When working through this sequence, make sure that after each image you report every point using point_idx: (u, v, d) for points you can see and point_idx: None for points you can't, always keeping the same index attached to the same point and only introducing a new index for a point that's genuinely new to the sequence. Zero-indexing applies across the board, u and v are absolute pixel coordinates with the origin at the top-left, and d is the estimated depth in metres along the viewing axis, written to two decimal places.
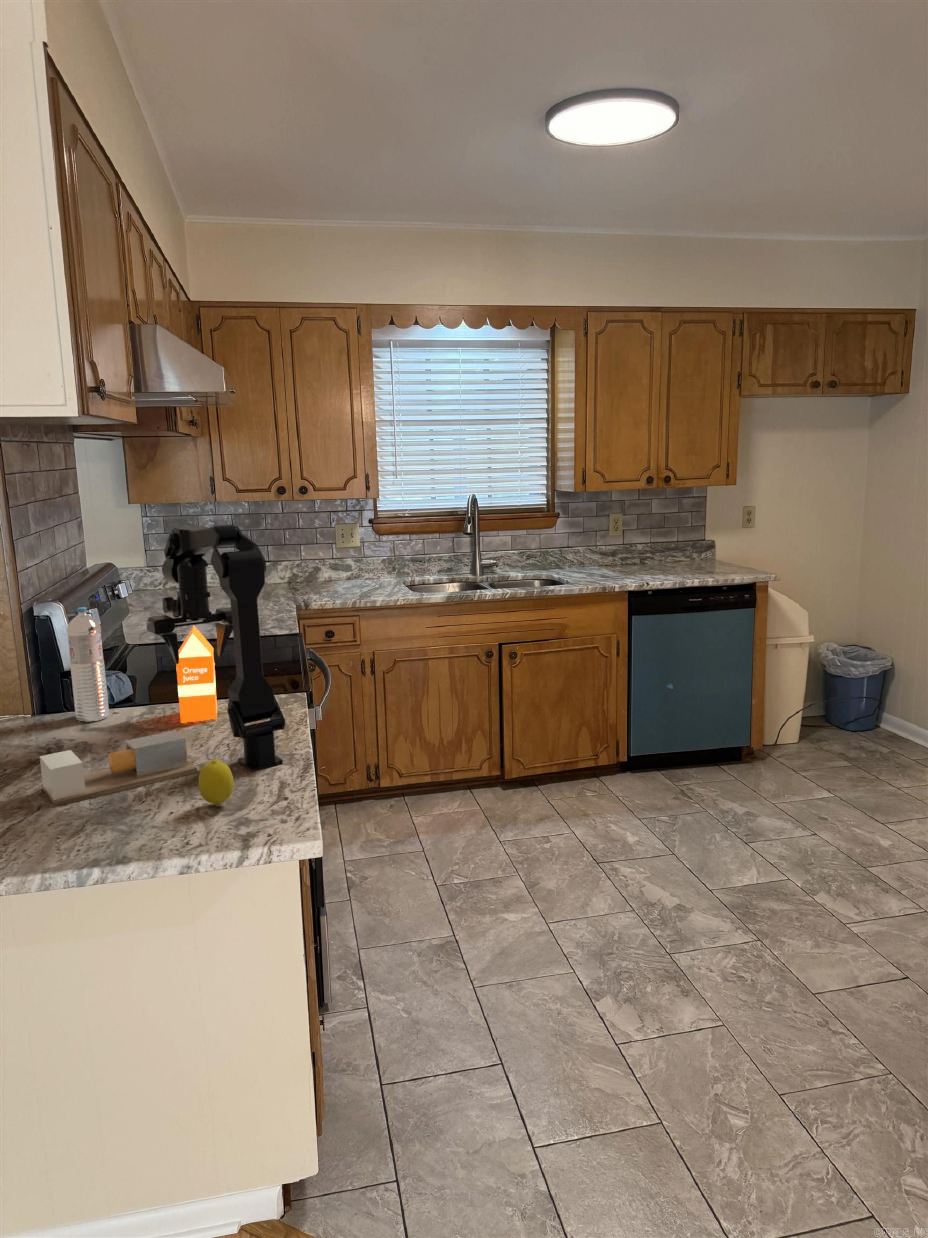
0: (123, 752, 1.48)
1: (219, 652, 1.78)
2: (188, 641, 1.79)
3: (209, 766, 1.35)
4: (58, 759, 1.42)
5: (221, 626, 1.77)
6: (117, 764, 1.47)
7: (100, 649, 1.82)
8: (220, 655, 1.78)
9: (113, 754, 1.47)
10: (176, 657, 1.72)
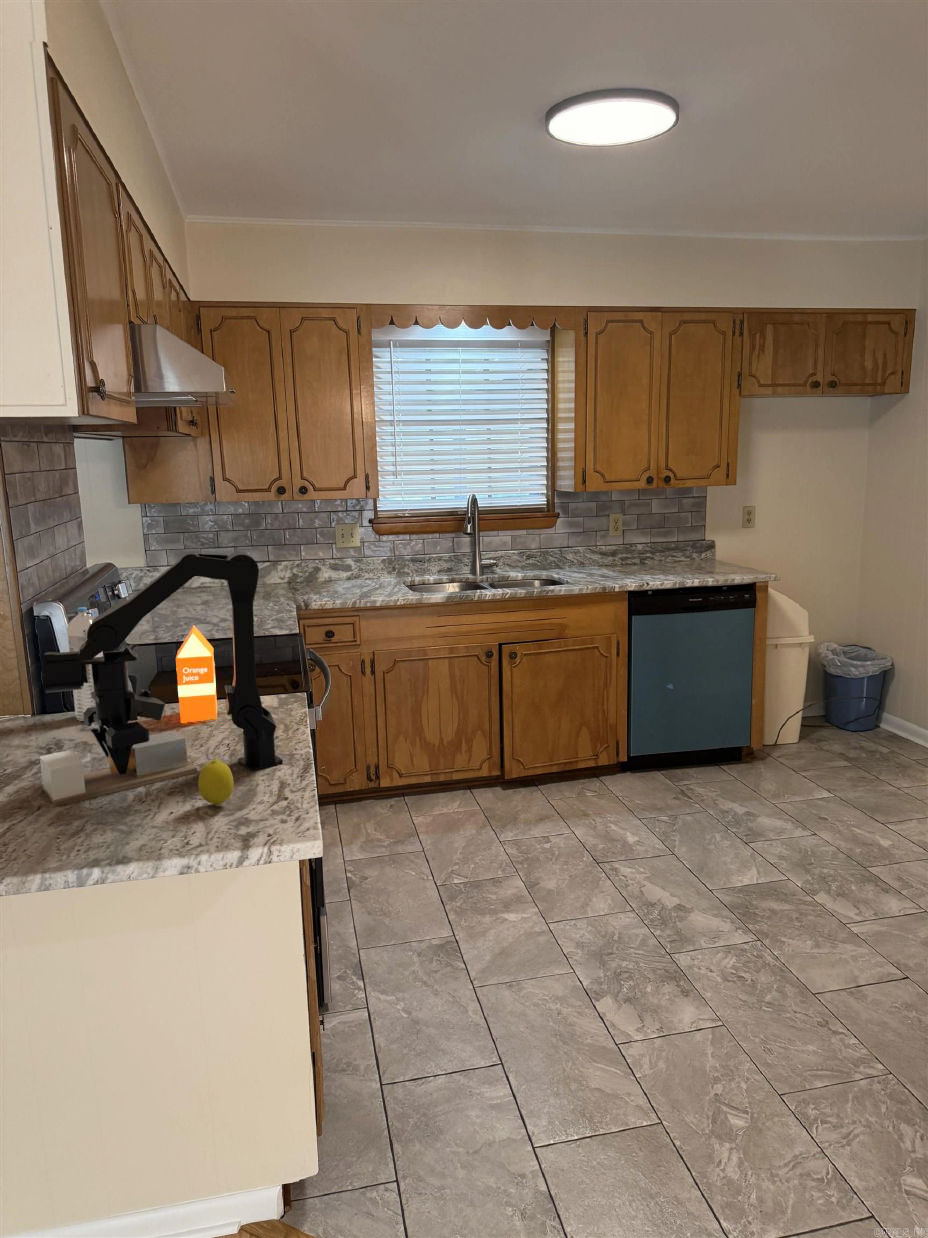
0: None
1: None
2: (188, 641, 1.79)
3: (209, 766, 1.35)
4: (58, 759, 1.42)
5: None
6: None
7: None
8: None
9: None
10: None
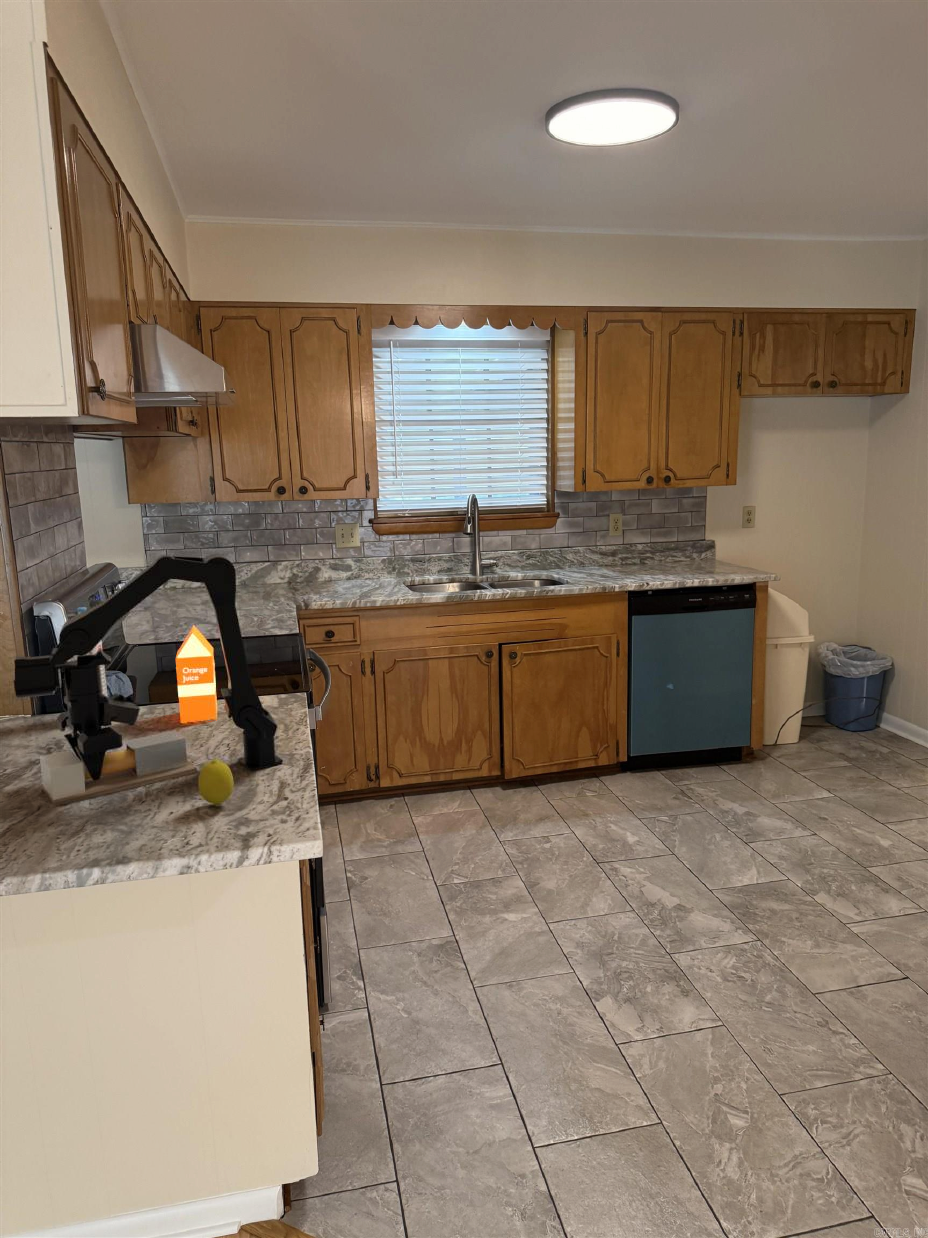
0: None
1: None
2: (188, 641, 1.79)
3: (209, 766, 1.35)
4: (58, 759, 1.42)
5: None
6: None
7: None
8: None
9: None
10: None
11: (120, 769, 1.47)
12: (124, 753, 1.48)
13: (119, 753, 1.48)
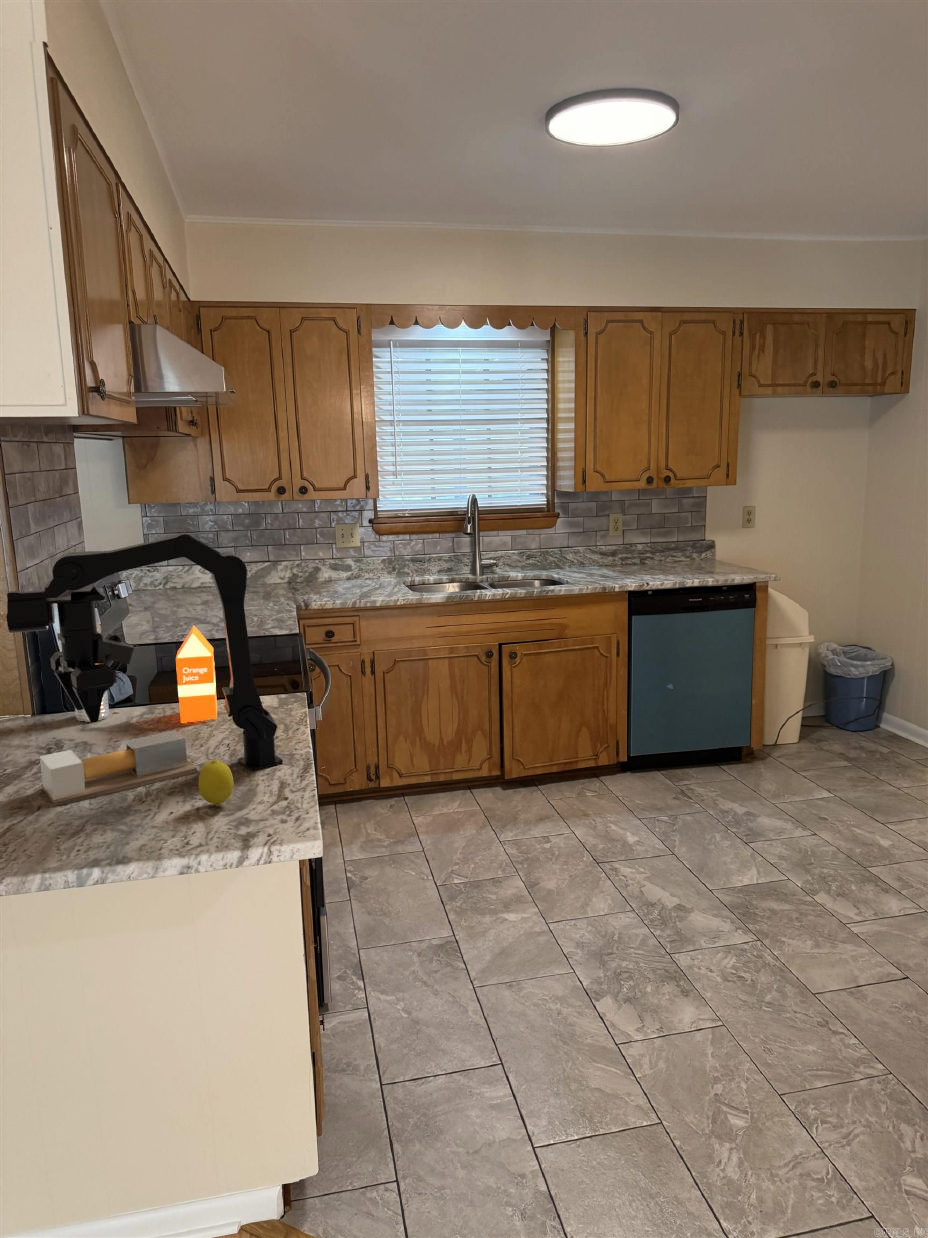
0: (97, 758, 1.45)
1: None
2: (188, 641, 1.79)
3: (209, 766, 1.35)
4: (58, 759, 1.42)
5: None
6: (90, 770, 1.44)
7: None
8: None
9: (86, 760, 1.44)
10: (73, 702, 1.47)
11: (120, 769, 1.47)
12: (124, 753, 1.48)
13: (119, 753, 1.48)
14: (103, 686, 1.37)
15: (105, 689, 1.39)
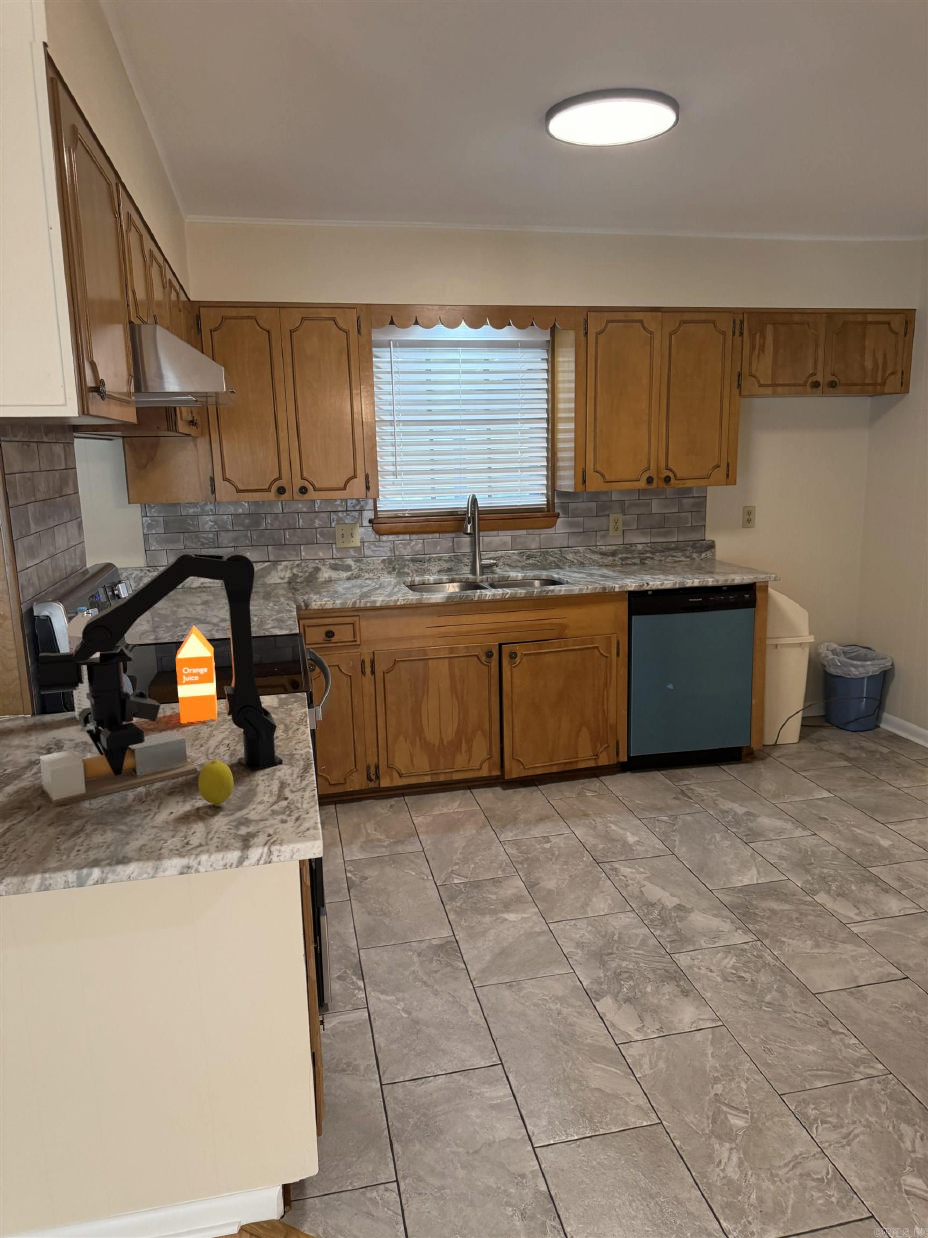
0: (97, 758, 1.45)
1: None
2: (188, 641, 1.79)
3: (209, 766, 1.35)
4: (58, 759, 1.42)
5: None
6: (90, 770, 1.44)
7: None
8: None
9: (86, 760, 1.44)
10: None
11: None
12: None
13: None
14: None
15: None
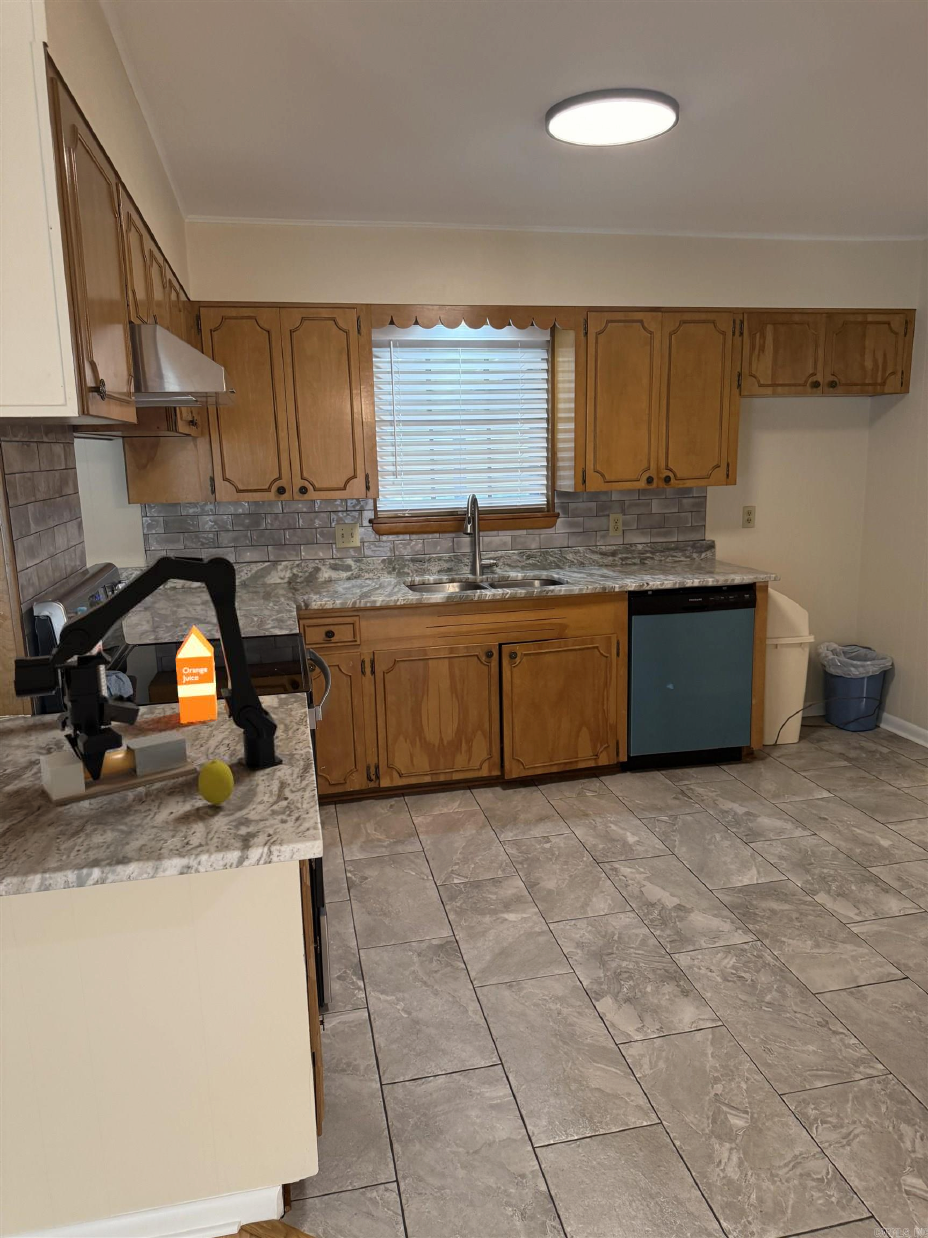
0: None
1: None
2: (188, 641, 1.79)
3: (209, 766, 1.35)
4: (58, 759, 1.42)
5: None
6: None
7: None
8: None
9: None
10: None
11: None
12: None
13: None
14: None
15: None
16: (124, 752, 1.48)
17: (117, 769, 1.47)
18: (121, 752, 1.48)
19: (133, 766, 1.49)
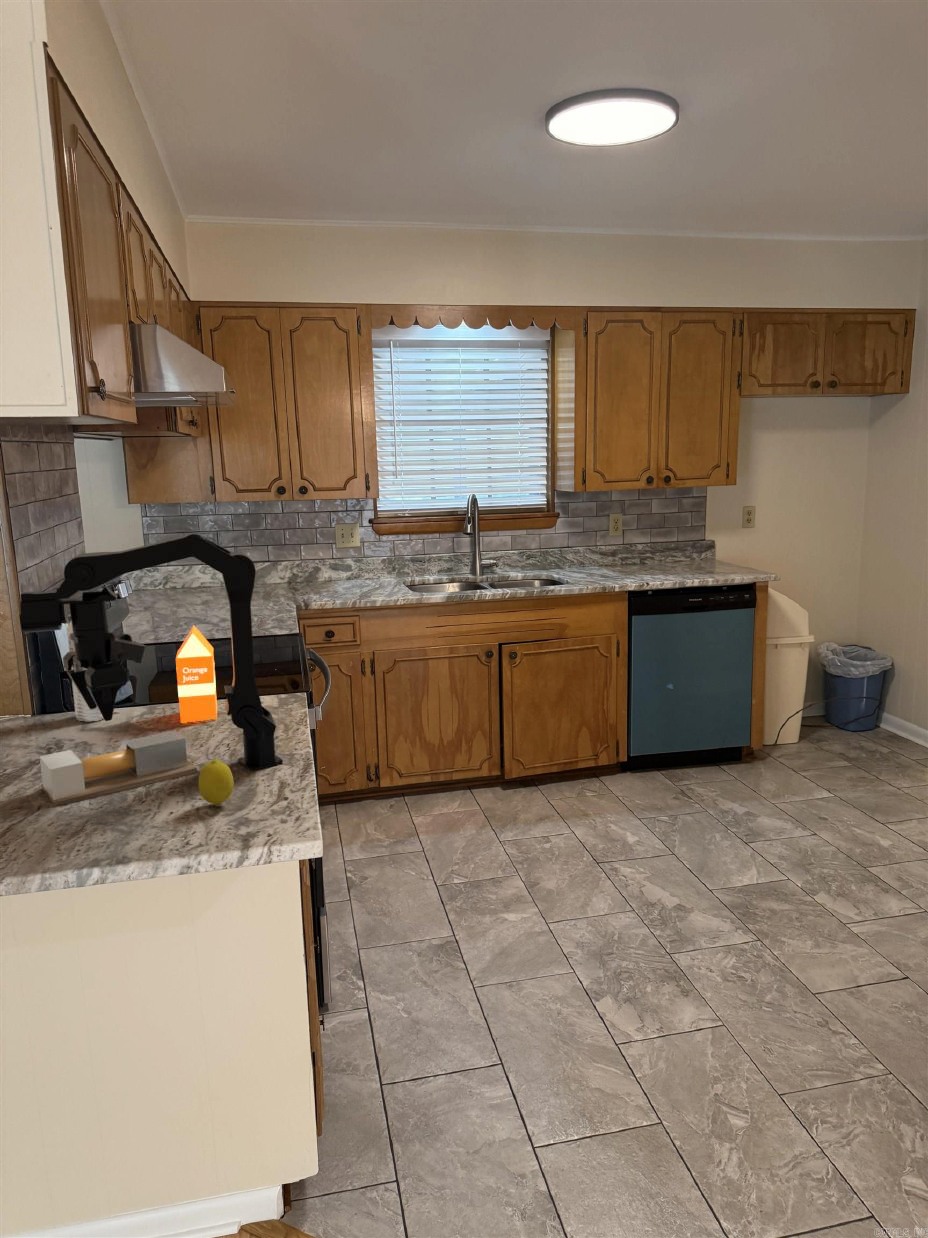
0: None
1: None
2: (188, 641, 1.79)
3: (209, 766, 1.35)
4: (58, 759, 1.42)
5: None
6: None
7: None
8: None
9: None
10: (86, 701, 1.49)
11: (98, 774, 1.45)
12: (103, 757, 1.46)
13: (98, 758, 1.45)
14: (117, 684, 1.39)
15: (118, 687, 1.41)
16: (124, 752, 1.48)
17: (117, 769, 1.47)
18: (121, 752, 1.48)
19: (133, 766, 1.49)
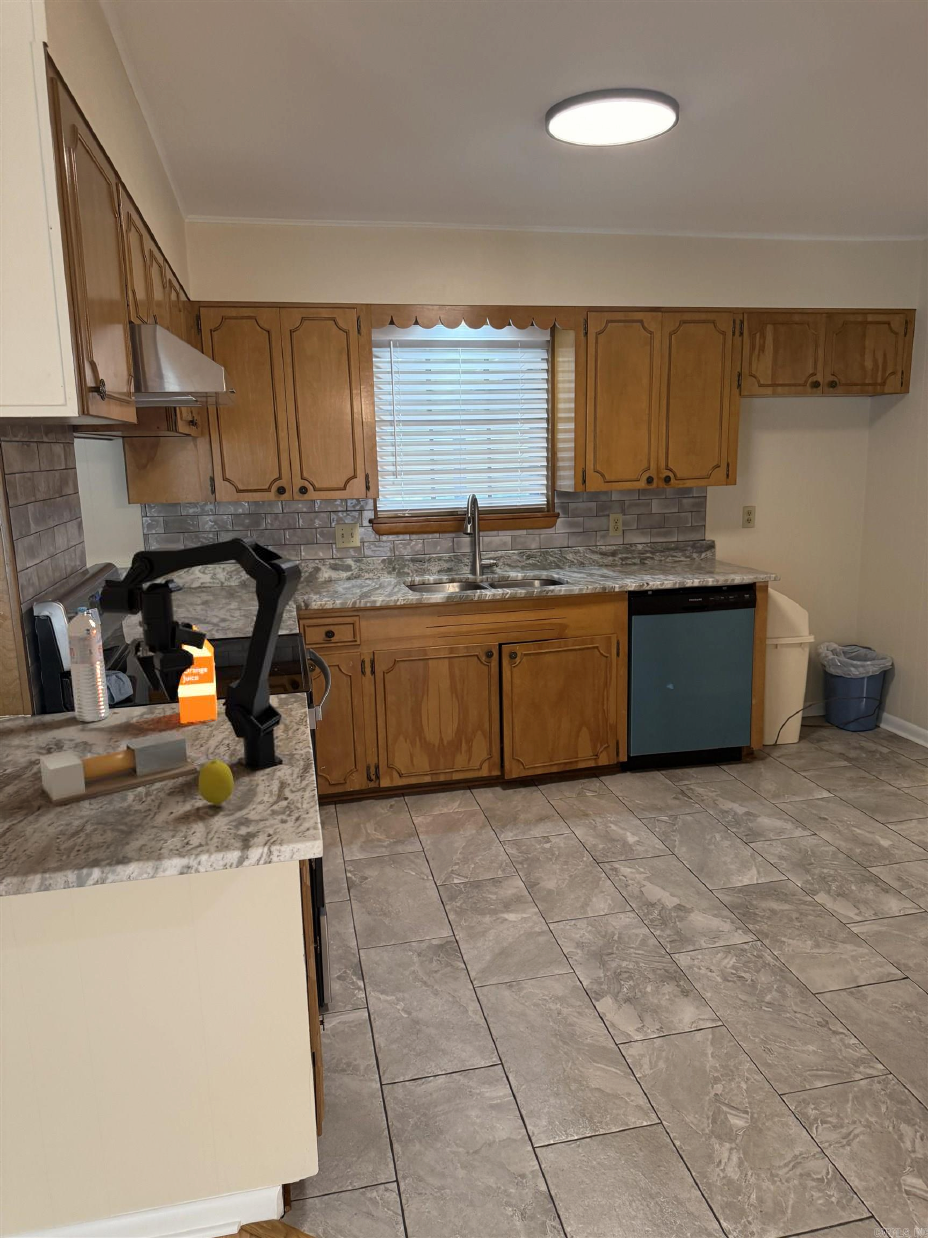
0: None
1: None
2: None
3: (209, 766, 1.35)
4: (58, 759, 1.42)
5: None
6: None
7: (100, 649, 1.82)
8: None
9: None
10: (150, 683, 1.62)
11: (98, 774, 1.45)
12: (103, 757, 1.46)
13: (98, 758, 1.45)
14: (182, 668, 1.52)
15: (183, 671, 1.54)
16: (124, 752, 1.48)
17: (117, 769, 1.47)
18: (121, 752, 1.48)
19: (133, 766, 1.49)
